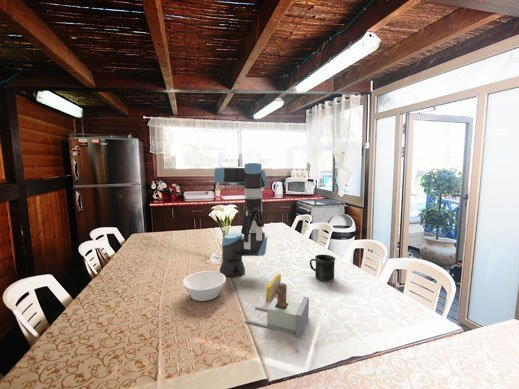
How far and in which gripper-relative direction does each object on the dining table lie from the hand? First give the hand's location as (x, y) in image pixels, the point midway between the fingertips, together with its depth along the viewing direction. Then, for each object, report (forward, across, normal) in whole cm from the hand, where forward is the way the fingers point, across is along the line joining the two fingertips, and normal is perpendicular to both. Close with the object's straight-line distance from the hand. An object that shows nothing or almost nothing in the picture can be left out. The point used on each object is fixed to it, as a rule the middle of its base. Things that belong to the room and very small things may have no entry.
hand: (253, 244), depth 116 cm
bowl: (+29, -1, +26) cm, 39 cm away
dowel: (+26, -10, -16) cm, 32 cm away
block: (+27, -10, -18) cm, 34 cm away
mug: (+29, +41, -25) cm, 56 cm away
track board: (+29, -10, -14) cm, 33 cm away
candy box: (+29, +11, -6) cm, 32 cm away
